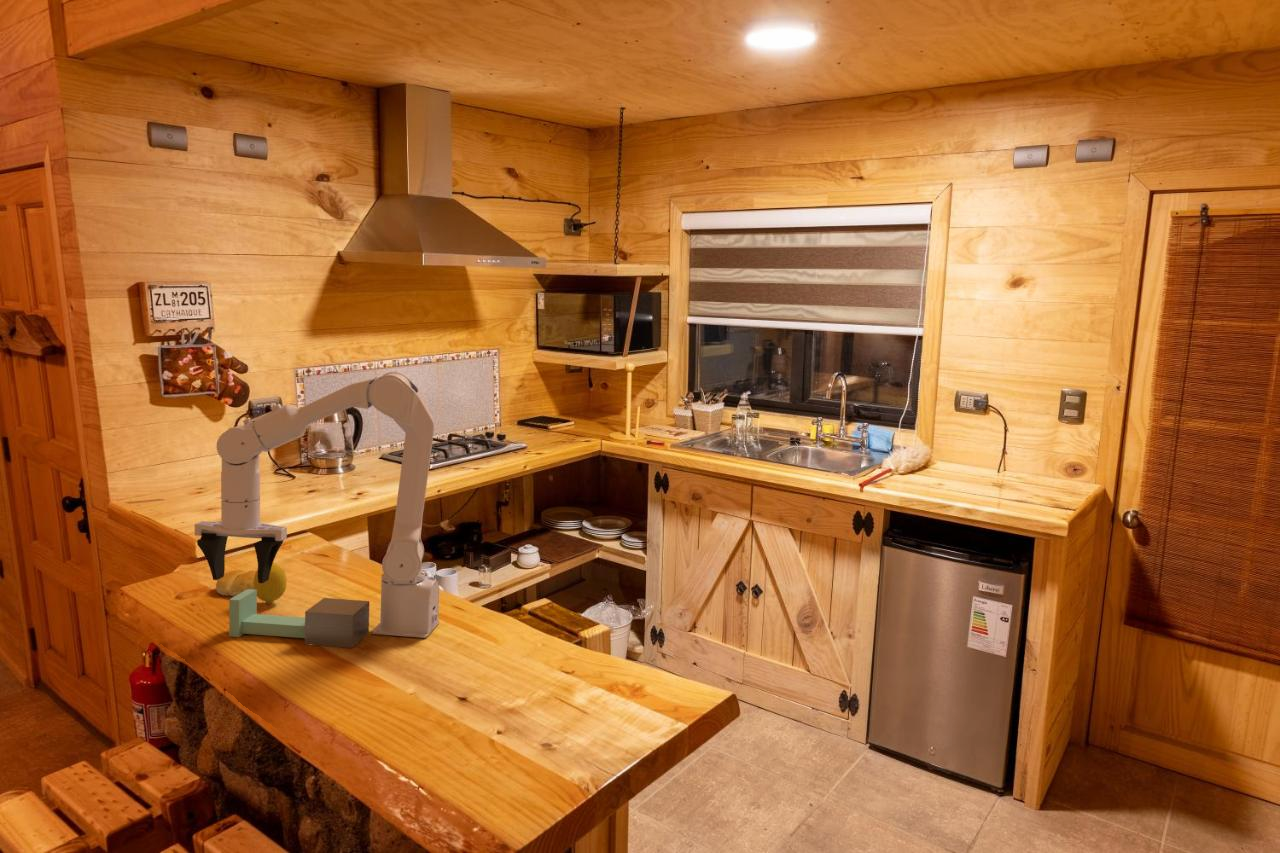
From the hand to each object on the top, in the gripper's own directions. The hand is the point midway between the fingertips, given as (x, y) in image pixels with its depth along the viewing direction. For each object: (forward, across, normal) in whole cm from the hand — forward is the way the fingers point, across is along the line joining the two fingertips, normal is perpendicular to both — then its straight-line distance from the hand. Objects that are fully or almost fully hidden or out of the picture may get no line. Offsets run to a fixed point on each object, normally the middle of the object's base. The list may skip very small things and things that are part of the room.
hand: (240, 579), depth 134 cm
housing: (+9, -16, 0) cm, 18 cm away
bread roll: (+9, +10, -20) cm, 24 cm away
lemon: (+9, +2, -14) cm, 16 cm away
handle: (+9, -5, 0) cm, 10 cm away
